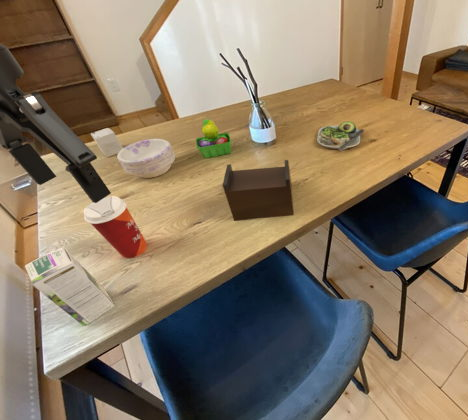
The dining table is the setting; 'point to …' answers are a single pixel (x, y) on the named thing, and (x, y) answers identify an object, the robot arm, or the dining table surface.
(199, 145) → the fruit basket
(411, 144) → the dining table surface
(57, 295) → the syrup box
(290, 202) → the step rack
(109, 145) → the product carton
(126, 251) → the paper cup
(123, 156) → the paper bowls
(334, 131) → the salad plate
